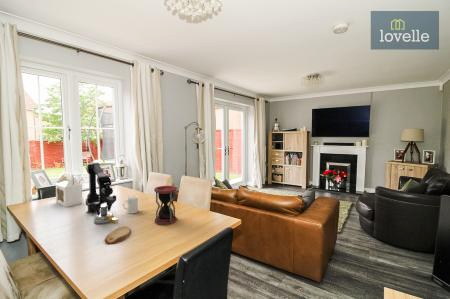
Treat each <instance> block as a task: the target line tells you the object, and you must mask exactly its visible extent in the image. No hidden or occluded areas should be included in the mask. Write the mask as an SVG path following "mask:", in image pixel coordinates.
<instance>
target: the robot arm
mask: <svg viewBox="0 0 450 299" xmlns="http://www.w3.org/2000/svg"><path fill="white" fill-rule="evenodd" d="M85 171H86V172H87V174H88V183H89V184H88V185H89V187H88V189H89V193H88V194H87V196H86V200H85V203H84V204H85V205H86V206H87V211H85V212H86V213H89V214H93V213H96V215H98V216H100V214H101V207H100V206H102V205H104V204H106V205H108V207H107V212H110V211H111V208H112V206H113V204H115V202H116V201H117V196H116V195H112V194H113V193H114V189H113V188H112V187H111V186H112V180H111V177H110V176H109V175H108V174H107V173H105V172H104V170H103V169H102V167H101V164H100V163H99V162H92V163H89V164H87V165H85ZM97 186H98V192H97Z"/></svg>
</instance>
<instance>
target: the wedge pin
mask: <svg viewBox="0 0 450 299" xmlns="http://www.w3.org/2000/svg"><path fill="white" fill-rule="evenodd" d="M100 207H101V208H100V214H101V216H106V215H107V213H108V208H107V207H108V205H107V204H101V206H100Z"/></svg>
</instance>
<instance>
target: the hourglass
mask: <svg viewBox="0 0 450 299" xmlns="http://www.w3.org/2000/svg"><path fill="white" fill-rule="evenodd" d="M177 190H178V188H177V186H174V185H160V186H156V187H154V192H155V202H156V205H157V209H156V210H155V218H154V224H155V225H157V226H168V225H172V224H175V223H176V222H177V221H178V219H177V216H176V206H175V204H174V201H175V199H176V191H177ZM158 199H159V201H160V202H161V203H159V201H158ZM171 206H172V207H173V209H172V208H171ZM176 220H177V221H176Z"/></svg>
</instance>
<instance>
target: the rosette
mask: <svg viewBox="0 0 450 299" xmlns="http://www.w3.org/2000/svg"><path fill="white" fill-rule="evenodd" d="M113 214H114V213H111V212H107V215H106V216H101V213H100V216H98V215H97V214H96V215H95V216H94V219H93V223H94V224H95V225H106V224H116V223H119V219H118V217H117V218H116V217H115V215H113Z"/></svg>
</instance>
